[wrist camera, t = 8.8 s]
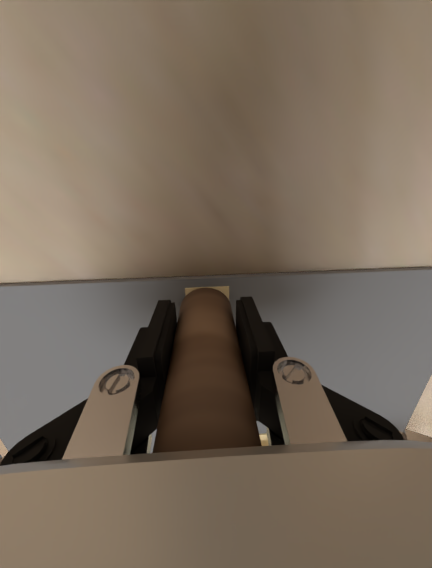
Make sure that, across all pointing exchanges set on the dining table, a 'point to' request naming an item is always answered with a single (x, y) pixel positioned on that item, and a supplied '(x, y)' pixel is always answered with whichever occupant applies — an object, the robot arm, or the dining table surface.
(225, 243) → the dining table surface
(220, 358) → the brown and pale-green bar
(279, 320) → the card
